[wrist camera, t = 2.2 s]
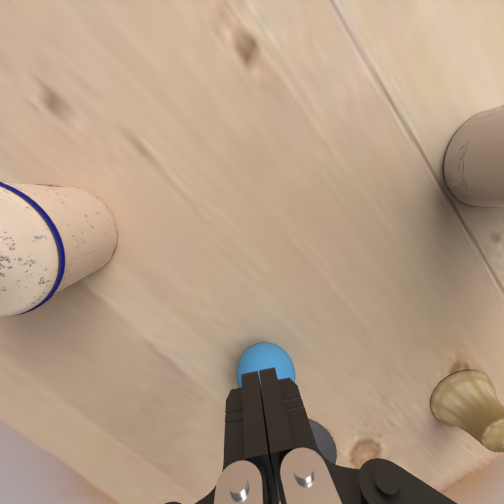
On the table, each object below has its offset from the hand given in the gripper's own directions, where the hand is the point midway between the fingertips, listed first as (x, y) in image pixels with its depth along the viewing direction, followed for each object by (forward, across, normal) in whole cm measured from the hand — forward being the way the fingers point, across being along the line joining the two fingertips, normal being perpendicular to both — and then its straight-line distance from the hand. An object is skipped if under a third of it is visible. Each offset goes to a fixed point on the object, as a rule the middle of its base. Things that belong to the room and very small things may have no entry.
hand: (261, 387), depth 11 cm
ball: (+13, 0, +10) cm, 16 cm away
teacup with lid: (+16, +17, -7) cm, 24 cm away
